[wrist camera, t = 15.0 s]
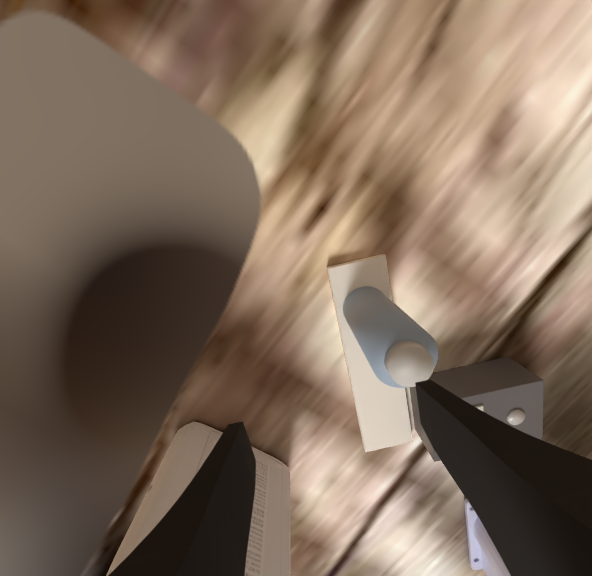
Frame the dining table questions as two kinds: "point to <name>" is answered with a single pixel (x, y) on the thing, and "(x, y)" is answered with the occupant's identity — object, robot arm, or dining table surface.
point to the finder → (492, 395)
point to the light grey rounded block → (266, 507)
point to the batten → (365, 385)
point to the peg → (390, 338)
